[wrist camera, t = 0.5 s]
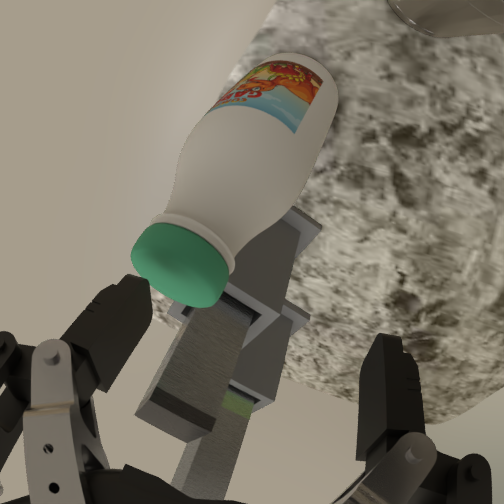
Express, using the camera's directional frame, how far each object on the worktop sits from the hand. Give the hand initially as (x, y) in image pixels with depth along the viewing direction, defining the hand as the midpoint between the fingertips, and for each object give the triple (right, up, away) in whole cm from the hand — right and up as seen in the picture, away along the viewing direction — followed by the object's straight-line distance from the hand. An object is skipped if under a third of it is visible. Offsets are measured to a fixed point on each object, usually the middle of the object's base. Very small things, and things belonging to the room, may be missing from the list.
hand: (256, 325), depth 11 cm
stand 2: (+1, -6, +32) cm, 33 cm away
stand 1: (0, +5, +25) cm, 25 cm away
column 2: (-1, -10, +27) cm, 28 cm away
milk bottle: (+4, +16, +15) cm, 22 cm away
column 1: (0, +4, +24) cm, 24 cm away
